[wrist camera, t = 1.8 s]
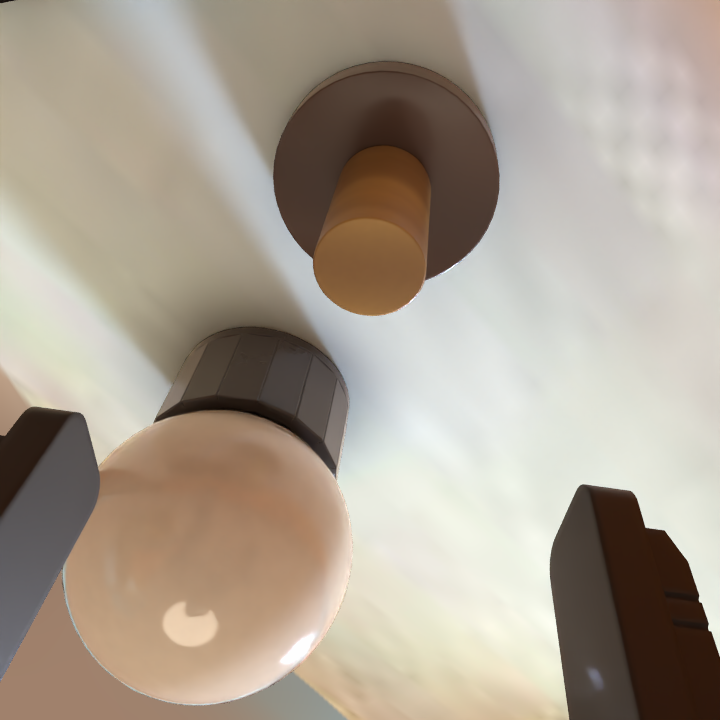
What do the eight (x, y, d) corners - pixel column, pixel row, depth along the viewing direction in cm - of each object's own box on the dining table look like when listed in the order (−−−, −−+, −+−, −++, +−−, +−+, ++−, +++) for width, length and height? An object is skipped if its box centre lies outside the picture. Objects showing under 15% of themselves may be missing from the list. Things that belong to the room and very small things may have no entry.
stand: (173, 315, 24) (133, 384, 21) (355, 339, 24) (341, 412, 21) (190, 441, 29) (159, 513, 26) (344, 463, 29) (331, 538, 26)
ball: (112, 337, 22) (-49, 573, 15) (377, 372, 21) (341, 631, 14) (147, 504, 27) (43, 731, 20) (356, 534, 27) (324, 775, 20)
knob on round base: (279, 47, 18) (225, 113, 14) (521, 75, 18) (543, 150, 13) (279, 258, 22) (238, 358, 18) (474, 282, 22) (480, 390, 18)
